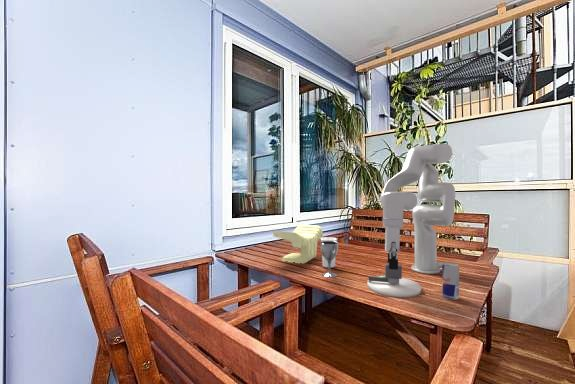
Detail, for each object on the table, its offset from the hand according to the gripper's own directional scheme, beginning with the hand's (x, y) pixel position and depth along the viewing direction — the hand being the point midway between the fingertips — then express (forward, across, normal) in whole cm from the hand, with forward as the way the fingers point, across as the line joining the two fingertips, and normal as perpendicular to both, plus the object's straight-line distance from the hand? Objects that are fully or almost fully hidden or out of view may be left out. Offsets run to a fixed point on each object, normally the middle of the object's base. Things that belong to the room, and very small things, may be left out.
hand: (392, 266), depth 111 cm
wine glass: (+9, -10, -27) cm, 30 cm away
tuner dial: (+9, -1, 0) cm, 9 cm away
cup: (+9, -24, -29) cm, 39 cm away
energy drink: (+9, +4, +20) cm, 22 cm away
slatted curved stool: (+9, -33, -47) cm, 58 cm away
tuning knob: (+7, -1, -3) cm, 7 cm away
